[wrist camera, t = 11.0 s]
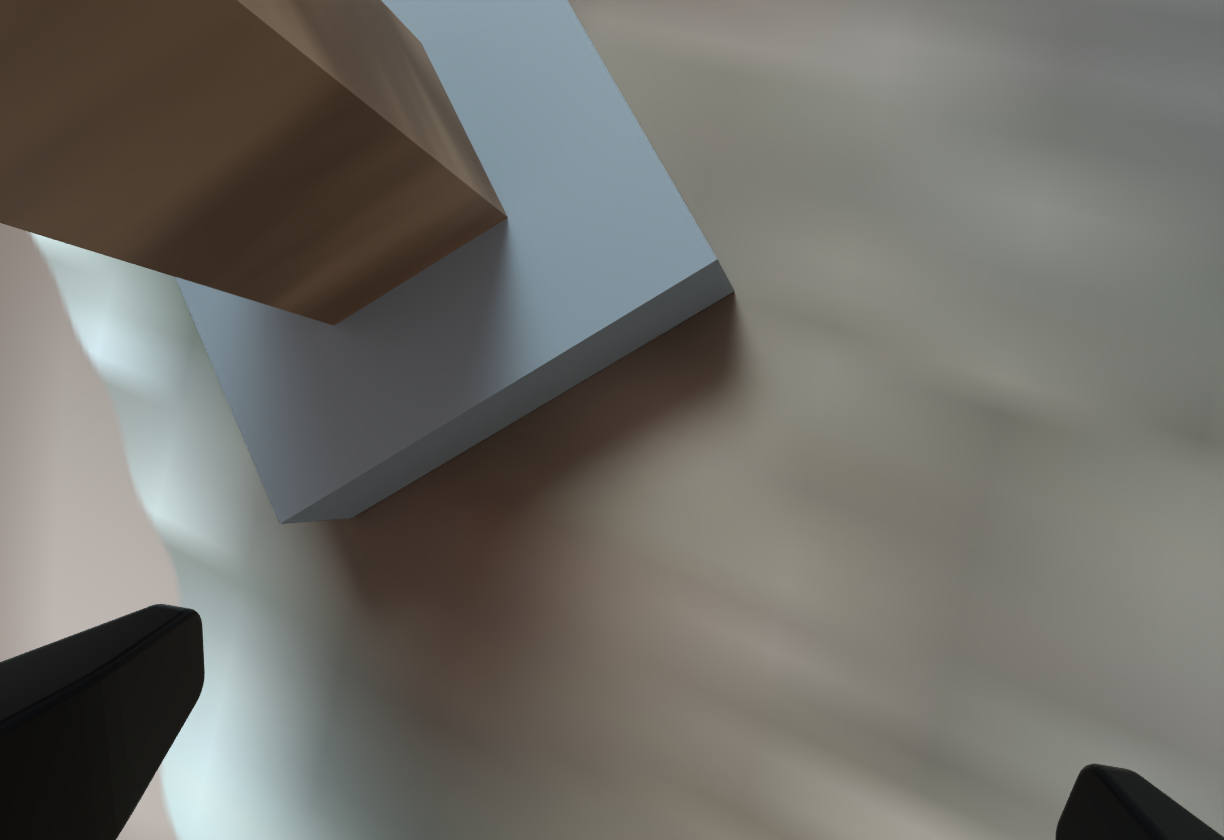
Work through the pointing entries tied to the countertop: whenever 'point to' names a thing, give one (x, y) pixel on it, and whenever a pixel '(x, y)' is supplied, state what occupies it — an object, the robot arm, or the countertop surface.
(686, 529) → the countertop surface
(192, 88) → the walnut block
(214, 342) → the plinth
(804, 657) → the countertop surface
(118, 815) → the robot arm
